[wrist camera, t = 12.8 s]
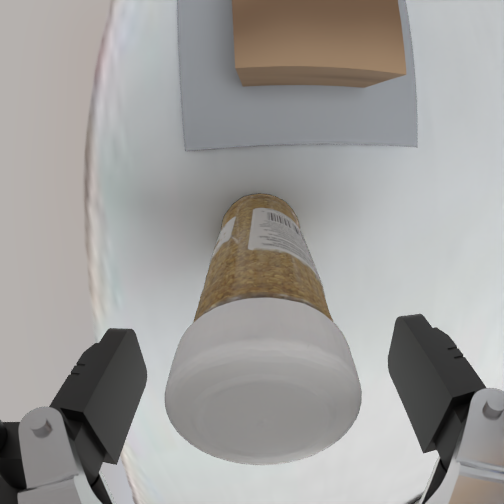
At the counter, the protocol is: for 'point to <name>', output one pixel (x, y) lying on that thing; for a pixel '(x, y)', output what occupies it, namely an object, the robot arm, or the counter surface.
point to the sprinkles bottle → (262, 348)
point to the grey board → (280, 95)
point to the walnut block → (317, 42)
